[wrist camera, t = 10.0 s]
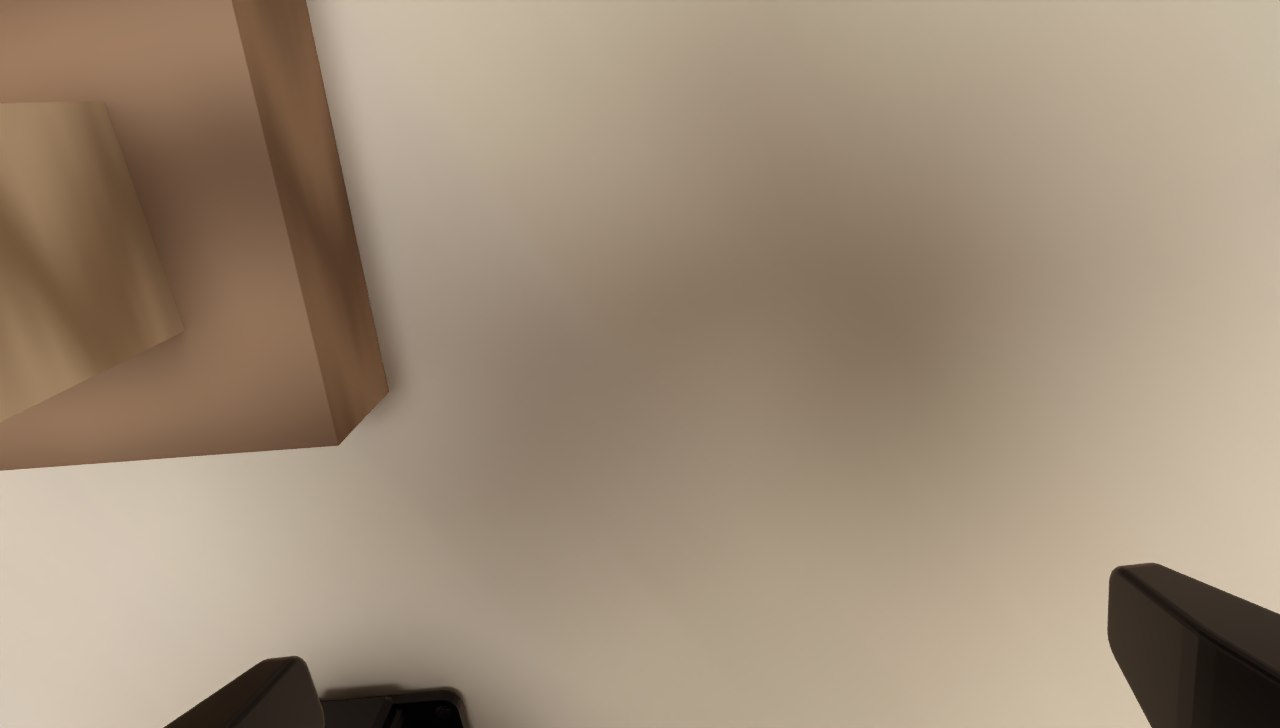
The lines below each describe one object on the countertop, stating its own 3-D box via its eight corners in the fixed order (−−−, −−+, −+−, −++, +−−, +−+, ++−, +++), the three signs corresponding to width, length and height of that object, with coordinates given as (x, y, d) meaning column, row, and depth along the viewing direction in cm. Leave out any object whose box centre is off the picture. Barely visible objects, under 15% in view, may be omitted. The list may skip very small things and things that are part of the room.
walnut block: (394, 385, 23) (338, 445, 19) (28, 414, 23) (-96, 477, 20) (303, -45, 19) (213, -76, 15) (-124, 6, 20) (-311, -13, 16)
